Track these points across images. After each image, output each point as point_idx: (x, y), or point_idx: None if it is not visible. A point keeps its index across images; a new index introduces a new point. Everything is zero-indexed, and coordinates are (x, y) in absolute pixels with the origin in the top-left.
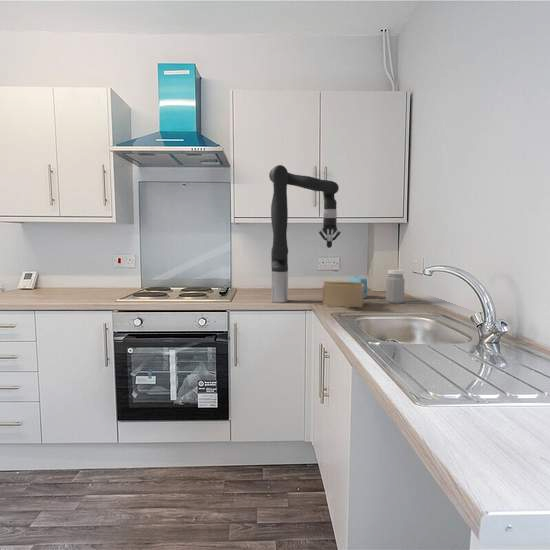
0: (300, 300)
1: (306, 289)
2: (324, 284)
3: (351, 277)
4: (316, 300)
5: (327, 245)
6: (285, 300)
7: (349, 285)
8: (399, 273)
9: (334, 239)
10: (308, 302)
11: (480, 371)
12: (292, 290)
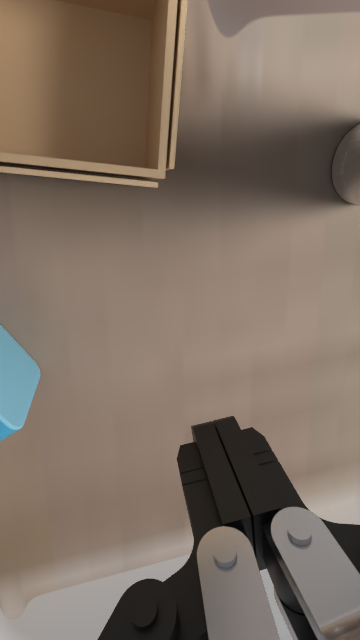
0: (272, 205)
1: None
2: (177, 60)
3: (6, 420)
4: (198, 214)
5: (258, 442)
6: (350, 134)
7: None
8: None
9: (138, 596)
10: (237, 144)
11: None
12: (290, 456)
